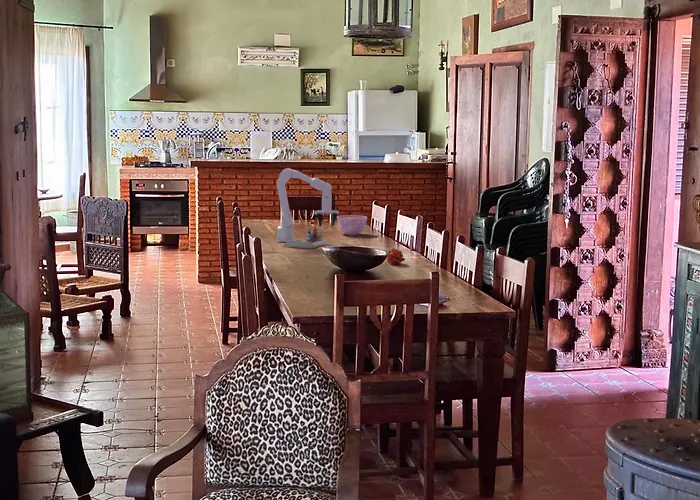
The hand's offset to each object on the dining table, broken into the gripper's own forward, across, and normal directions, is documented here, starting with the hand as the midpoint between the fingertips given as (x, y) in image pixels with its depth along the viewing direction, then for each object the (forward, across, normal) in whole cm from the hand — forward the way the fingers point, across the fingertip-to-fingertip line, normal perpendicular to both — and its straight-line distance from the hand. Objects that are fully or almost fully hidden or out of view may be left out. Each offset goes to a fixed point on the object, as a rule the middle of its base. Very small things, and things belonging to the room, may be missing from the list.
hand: (326, 226), depth 513 cm
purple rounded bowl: (+10, +27, +32) cm, 43 cm away
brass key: (+10, -26, -6) cm, 29 cm away
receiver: (+10, -16, -11) cm, 22 cm away
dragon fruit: (+10, +12, -85) cm, 87 cm away
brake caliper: (+10, -8, -1) cm, 13 cm away
